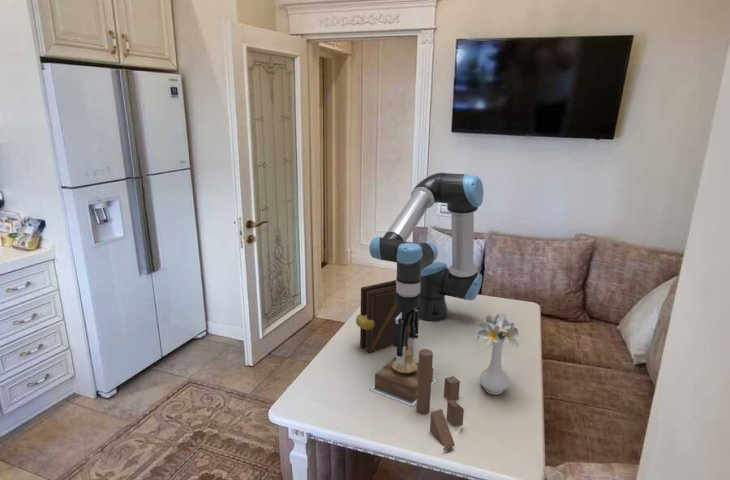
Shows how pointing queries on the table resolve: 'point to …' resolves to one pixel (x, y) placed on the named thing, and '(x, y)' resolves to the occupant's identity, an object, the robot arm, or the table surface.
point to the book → (377, 316)
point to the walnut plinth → (398, 382)
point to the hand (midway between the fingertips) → (405, 359)
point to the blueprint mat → (397, 396)
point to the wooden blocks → (450, 393)
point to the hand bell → (406, 358)
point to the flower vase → (496, 351)
